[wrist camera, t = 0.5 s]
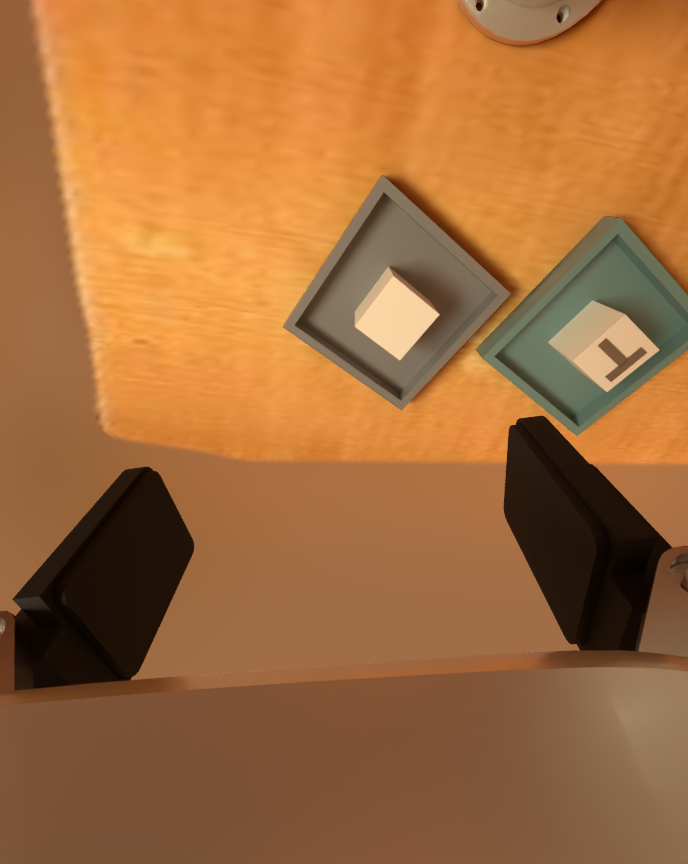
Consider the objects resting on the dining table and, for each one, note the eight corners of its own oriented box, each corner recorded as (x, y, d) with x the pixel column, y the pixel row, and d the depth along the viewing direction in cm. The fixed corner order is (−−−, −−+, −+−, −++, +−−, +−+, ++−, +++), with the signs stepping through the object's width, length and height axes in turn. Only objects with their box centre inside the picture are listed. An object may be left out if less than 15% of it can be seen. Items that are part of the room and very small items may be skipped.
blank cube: (388, 266, 34) (393, 275, 30) (429, 300, 35) (439, 314, 31) (354, 311, 36) (354, 326, 32) (394, 342, 38) (399, 360, 33)
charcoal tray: (380, 176, 31) (382, 174, 29) (502, 288, 35) (511, 293, 33) (286, 320, 37) (282, 327, 35) (399, 399, 42) (401, 410, 40)
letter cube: (592, 300, 35) (626, 314, 31) (624, 332, 36) (660, 350, 32) (547, 342, 37) (573, 361, 33) (579, 371, 39) (607, 392, 34)
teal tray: (604, 216, 32) (621, 217, 30) (695, 320, 36) (715, 327, 34) (475, 349, 38) (482, 357, 36) (566, 424, 43) (576, 435, 41)
